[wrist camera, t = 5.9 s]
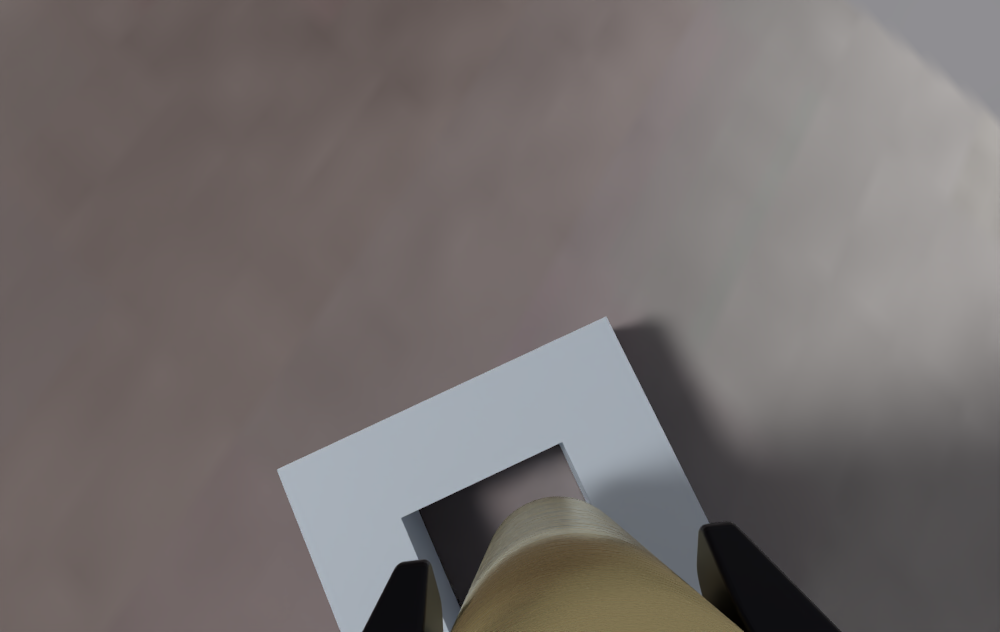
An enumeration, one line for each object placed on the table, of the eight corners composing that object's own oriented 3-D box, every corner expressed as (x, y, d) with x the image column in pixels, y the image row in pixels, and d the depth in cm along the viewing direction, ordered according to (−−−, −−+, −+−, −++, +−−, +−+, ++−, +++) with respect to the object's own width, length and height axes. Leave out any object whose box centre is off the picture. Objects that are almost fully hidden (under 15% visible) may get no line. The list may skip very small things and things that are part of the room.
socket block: (746, 636, 22) (780, 666, 19) (437, 786, 21) (423, 841, 18) (596, 332, 23) (606, 316, 20) (309, 466, 23) (276, 469, 20)
